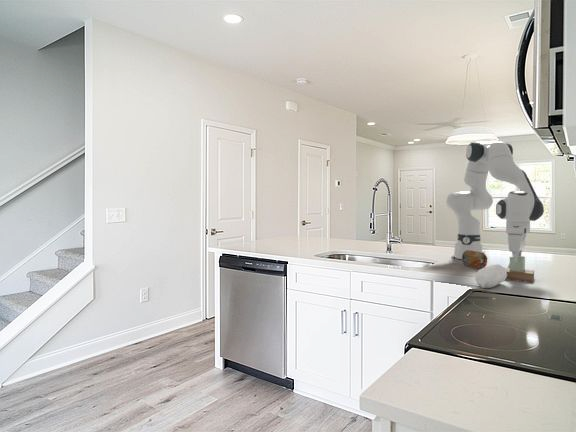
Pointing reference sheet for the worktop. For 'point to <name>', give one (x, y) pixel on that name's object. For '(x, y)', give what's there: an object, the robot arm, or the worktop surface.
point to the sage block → (517, 264)
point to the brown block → (520, 275)
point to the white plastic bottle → (491, 276)
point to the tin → (474, 259)
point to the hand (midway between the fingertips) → (517, 260)
